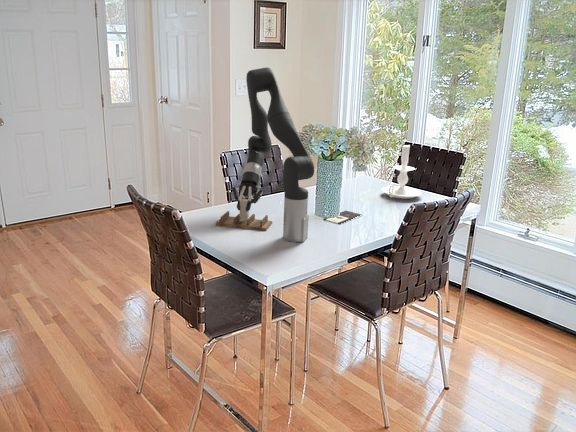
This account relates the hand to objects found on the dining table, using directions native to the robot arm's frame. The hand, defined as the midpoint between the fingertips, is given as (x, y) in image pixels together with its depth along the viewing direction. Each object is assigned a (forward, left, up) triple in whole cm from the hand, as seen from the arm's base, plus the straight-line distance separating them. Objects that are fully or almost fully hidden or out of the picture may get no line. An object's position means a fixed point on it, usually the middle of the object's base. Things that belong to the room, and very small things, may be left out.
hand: (242, 209), depth 221 cm
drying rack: (0, -2, -7) cm, 7 cm away
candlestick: (-57, -76, -7) cm, 95 cm away
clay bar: (0, -2, -4) cm, 5 cm away
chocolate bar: (-37, -29, -8) cm, 48 cm away
